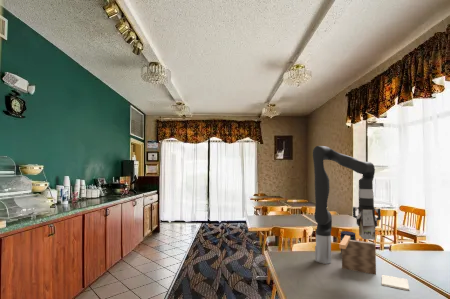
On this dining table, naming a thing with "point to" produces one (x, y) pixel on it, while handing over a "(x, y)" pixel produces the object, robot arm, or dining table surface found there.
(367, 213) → the coffee box
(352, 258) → the brown wooden flat panel
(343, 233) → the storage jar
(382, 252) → the dining table surface
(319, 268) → the dining table surface
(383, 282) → the cream pad
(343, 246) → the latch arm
